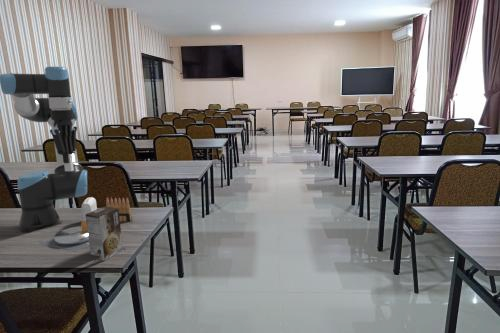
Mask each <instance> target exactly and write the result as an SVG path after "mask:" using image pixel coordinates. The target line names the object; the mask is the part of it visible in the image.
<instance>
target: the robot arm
mask: <svg viewBox="0 0 500 333" xmlns="http://www.w3.org/2000/svg"><path fill="white" fill-rule="evenodd" d="M0 90H1V92H2V93H3V94H4V95H11V96H12V99H13V102H14V104H13V106H14V110H15V112H16V113H17V115H19V116H20V117H21V118H24V119H25V120H28V121H31V122H34V123H47V124H48V125H49V126H50V127H51V128H52V129H49V132H50V134H51V135H52V138H53V141H54V142H53V143H54V150H55V158H56V164H57V166H56V167H55V169H54V173H50V172H49V171H48V170H38V171H33V172H29V173H26V174H24V175H21V176H19V178H18V179H17V191H18V195H19V201H20V210H21V214H20V219H19V224H18V226H19V231H21V232H25V233H32V232H36V231H40V230H43V229H48V228H51V227H53V226H56V225H57V226H58V225H60V223H61V219H60V215H59V214H58V212H57V210H56V208H55V206H54V202H53V201H58V200H64V199H71V198H72V199H73V198H79V197H83V196H85V195H87V194H88V170H87V169H84V168H83V166H82V165H81V164H80V163H79V159H78V152H77V148H76V146H77V145H76V144H77V130H78V127H77V126H74V125H75V122H76V121H78V112H77V108H76V105H75V102H74V100H73V99H72V95H71V85H70V75H69V71H68V68H67V67H66V66H45V68H44V73H11V72H10V73H1V74H0ZM35 95H48V96H47V97H35Z"/></svg>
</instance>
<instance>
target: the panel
mask: <svg viewBox="0 0 500 333" xmlns="http://www.w3.org/2000/svg"><path fill="white" fill-rule="evenodd" d="M38 245H39V246H46V247H50V248H55V249H60V250H66V251H71V252H77V251H79V250H81V249H83V248H85V247H87V246H90V245H89V241H87V242H85V243H81V244H77V245H71V246H61V245H57V244H56V243H55V238H54V237H53V238H50V239H48V240H46V241H43V242H41V243H39V244H38Z"/></svg>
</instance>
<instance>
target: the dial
mask: <svg viewBox="0 0 500 333" xmlns="http://www.w3.org/2000/svg"><path fill="white" fill-rule="evenodd" d="M53 238H55V243H56V244H57V245H61V246H71V245H77V244H81V243H85V242H87V241H89V237H88V229H87V221H83V220H81V222H80V225H79V226H72V227H69V228H66V229H62V230H60V231H58V232H56V233H55V235H54V236H53Z"/></svg>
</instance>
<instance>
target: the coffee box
mask: <svg viewBox="0 0 500 333" xmlns="http://www.w3.org/2000/svg"><path fill="white" fill-rule="evenodd" d="M86 221H87V229H88V237H89V245H88V246H89V250H90V252H89V253H90V255H92V256H97V257H96V258H95V260H97V261H98V260H99V261H102V262H106V261H107V260H109V259H110V258H112V257H114V256H116V255H117V254H119V253H121V252H122V251H123V250H124V248H123V237H122V228H121V221H120V219H119V210H118V208H113V207H107V205H106V206H103V207H100V208H97V210H95V211H92V212H90V213H88V214H86Z"/></svg>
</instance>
